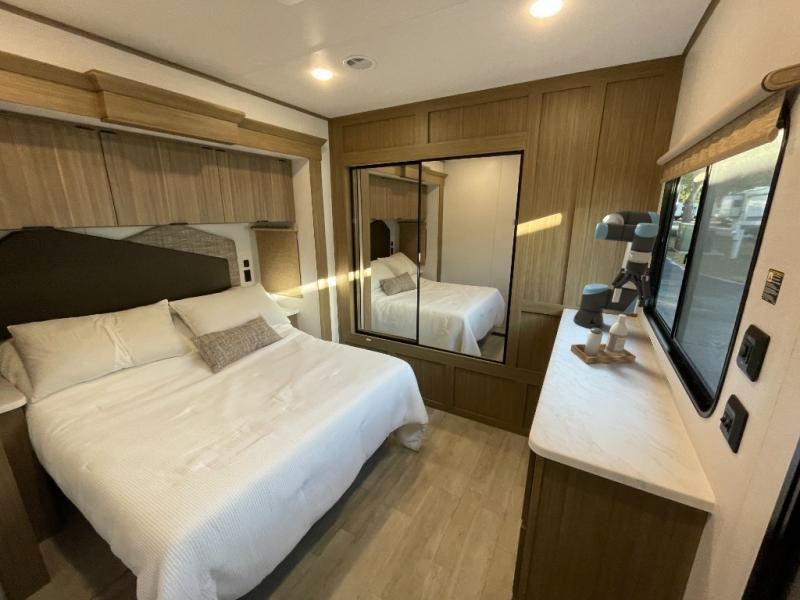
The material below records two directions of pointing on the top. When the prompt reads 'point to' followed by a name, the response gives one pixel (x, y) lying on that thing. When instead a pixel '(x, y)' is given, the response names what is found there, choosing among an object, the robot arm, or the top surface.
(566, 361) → the top surface
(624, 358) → the caddy
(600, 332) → the white and grey cylinder
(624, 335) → the bath foam
